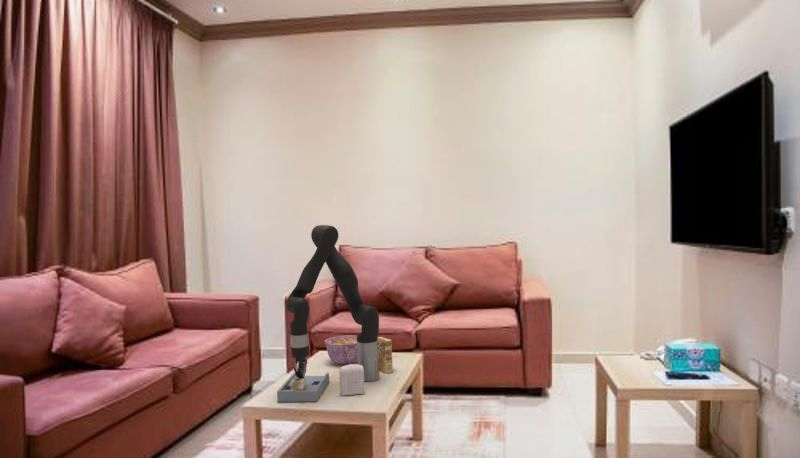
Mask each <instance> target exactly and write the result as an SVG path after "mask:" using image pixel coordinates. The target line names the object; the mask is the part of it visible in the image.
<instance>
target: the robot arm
mask: <svg viewBox="0 0 800 458" xmlns="http://www.w3.org/2000/svg"><path fill="white" fill-rule="evenodd" d="M310 235H311V236H310V238H311V240H312V243H313V244H314V246H315V247H316V250H315V252H314V253H313V255H312V257H311V259H310V260H309V261H308V262H307V264H306V265H305V266H304V268H303V269H302V271H301V273H300V276H299V278H298V281H297V284H296V286H295V287H294V288H293V290H292V291H291V293H290V294H289V296H288V297H287V299H286V300H287V301H286V304H285V305H286V309H287V311H288V312H289V313H291V314H293V319H291V321H290V324H289V330H290V331H289V332H290V338H289V339H290V340H289V344H290V355H291V356H290V357H292V358H294V359H295V361H294V366H295V367H294V368H293V371H294V373H295V374H296V377H298V378H304V376H306V374H307V366H308V360H307V359H306V358H307V357H308V356H309V355H310V343H309V332H308V321H309V316H310V305H309V304H310V303H309V302H308V300H307V299H306V296H308V295H309V294H311V293H312V292H313V291H314V288H315V286H316V284H317V280H318V278H319V275H320V274H321V271H322V268H324V265H325V263H326V266H327V268H328V269H329V272H330V273H331V276H332V277H333V280H334V281H335V284H336V285H337V287H338V288H339V291H340V293H341V294H342V296H343V298H344V300H345V302H346V304H347V307H348V309H349V312H350V314H351V317H352V319H353V321H354V323H356V324H357V325H360V326H361V332H360V333H358V334H357V335H356V336H357V357H358V360H357V365H362V366H363V369H364V382H374V381H378V380H379V379H380V371H379V356H378V345H377V338H378V337H379V333H380V314H379V310H378V309H377V308H376V307H374V306H372V305H367V304H365V302H364V300H363V299H362V297H361V295H360V292H359V280H358V277H357V275H356V273H355V271H354V268H353V267H352V265H351V264H350V262H349V261H347V259H346V258H344V256H343V255H342V254H341V253H340V252H339V250H338V249H337V248H336V245H337V242H338V240H339V231H338V229H337V228H336V227H335V226H334V225H329V224H328V225H327V224H320V225H315V226H314V227H313V228H312V230H311V234H310Z"/></svg>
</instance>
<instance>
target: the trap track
mask: <svg viewBox="0 0 800 458" xmlns="http://www.w3.org/2000/svg"><path fill="white" fill-rule="evenodd" d="M294 378H298V377H296V374H295V372H293V373H292V374H291V375H290V376H289V377H288V378H287V380H286V381H285V382H284V383H283V384H282V385H281V386H280V387H279V388H278V390H277V391H276V396H277V400H276V401H277V403H317V402H318V401H319V399H320V398H321V396H322V394H323V393H324V392H325V390H326V388H327V387H328V385H329V383H330V373H329V372H326V373H325V374H324V375H305V376H304V378H306V390H305V391H291V383H290V382H291V381H292V380H293V379H294Z"/></svg>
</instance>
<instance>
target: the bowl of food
mask: <svg viewBox="0 0 800 458" xmlns="http://www.w3.org/2000/svg"><path fill="white" fill-rule="evenodd" d="M324 343H325V346H326V350H327V354H328V357H329V359H330V360H331V361H332V362H333V363H337V364H338V365H340V366H346V365H350V364H355V362H358V357H357V335H354V334H353V335H349V334H348V335H337V336H332V337H329V338H327V339H325V340H324Z"/></svg>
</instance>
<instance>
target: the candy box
mask: <svg viewBox="0 0 800 458" xmlns="http://www.w3.org/2000/svg"><path fill="white" fill-rule="evenodd" d="M377 345H378V356H379V372H382V373H383V374H390V373H393V372H394V369H393V367H394V366H393V350H392V349H393V347H392V339H390V338H386V337H384V336H378V337H377Z"/></svg>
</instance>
